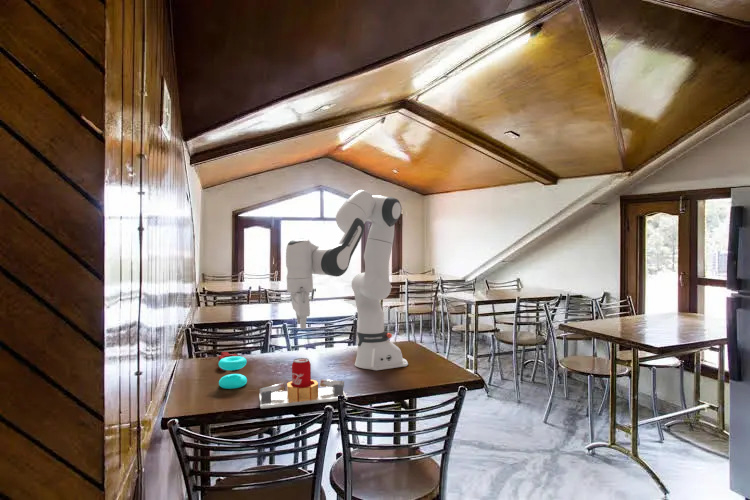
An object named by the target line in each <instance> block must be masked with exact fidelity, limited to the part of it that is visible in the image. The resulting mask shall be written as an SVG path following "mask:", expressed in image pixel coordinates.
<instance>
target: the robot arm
mask: <svg viewBox="0 0 750 500" xmlns="http://www.w3.org/2000/svg"><path fill="white" fill-rule="evenodd" d="M401 215H402V205H401V203H400V201H399V199H398V198H395V197H392V196H385V195H380V194H379V195H378V194H376V195H373V194H372V193H371V192H370V191H368V190H366V189H364V190H363V189H359V190H357V191H355V192H354V193H353V194H352V195H350V197H348V198H347V200H346V201H345V202H344V203H343V204H342V205H341V206H340V208H339V209H338V211H337V213H336V215H335V220H336V221H335V222H336V224H337V226H338V227H339V229H340V230H341V232H343V233H344V234H343V236H342V238H341V240H340V241H339V243H338V244H336V245H334V246H330V247H319V246H318V245H316V244H315V245H314V243H312V242H311V241H310V239H308V238H298V239H297V238H296V239H294V240H291V241H289V242H287V244H286V245H287V246H286V248H285V249H286V250H285V251H286V252H285V266H286V269H287V275H286V291H287V293H290V298H291V305H292V306H291V307H292V309H293V311H294V312H295V315H296V323H297V324H298V325H300V329H301V330H303V329H304V330H305V329H306V328H307V319H308V318H307V317H310V315H311V308H310V307H311V306H310V297H309V296H310V292H312V291H314V283H313V282H314V280H313V278H314V277H313V275H320V276H321V275H322V276H331V277H340V276H343V275H344V274H345V273H346V272H347V271H348V269H349V266H350V263H351V259H352V256H353V255H354V252H355V251H356V249H357V247H358V245H359V243H360V241H361V239H362V237H363V235H364V233H365V223H366V222H370V223H371V225H370V227H369V228H370V229H369V231H368V233H367V239H366V244H365V248H364V253H363V260H364V272H360V273H358V274H356V275H355V276H354V277H353V278H352V281H351V288H352V292H353V295H354V302H355V306H356V312H357V332H356V344H357V350H356V359H355V363H354V366H355V367H357V368H360V369H364V370H373V371H381V370H388V369H389V370H390V369H394V368H402V367H407V366H408V365H409V363H408V361H407V359H405V358H403V354H402V353H403V352H402V350H401V349H400V347H399V346H397V345H396V344H394V342H392V341H391V340H389V339H392V338H393V334H392V333H390V332H387V331H385V314H384V310H383V309H382V305H381V302H380V301H382V300H385V299H386V298H388V296H389V295H390V294H391V291H392V284H391V281H390V258H391V254H392V248H393V244H394V238H395V224H396V223H397V222H398V220H399V219H400V218H401Z"/></svg>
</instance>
